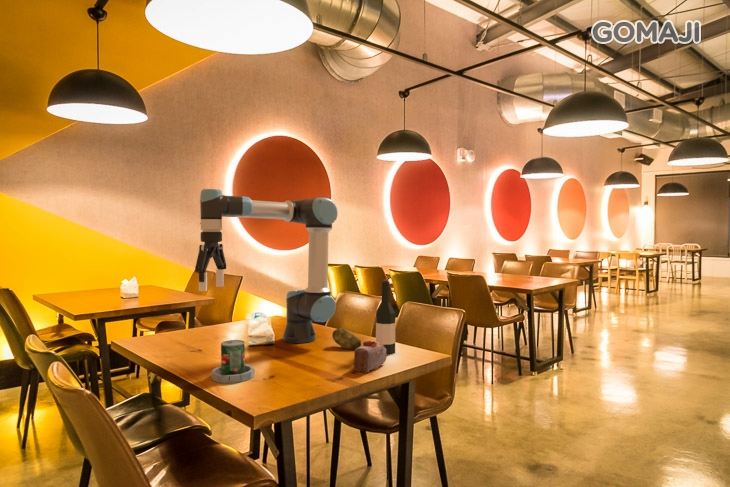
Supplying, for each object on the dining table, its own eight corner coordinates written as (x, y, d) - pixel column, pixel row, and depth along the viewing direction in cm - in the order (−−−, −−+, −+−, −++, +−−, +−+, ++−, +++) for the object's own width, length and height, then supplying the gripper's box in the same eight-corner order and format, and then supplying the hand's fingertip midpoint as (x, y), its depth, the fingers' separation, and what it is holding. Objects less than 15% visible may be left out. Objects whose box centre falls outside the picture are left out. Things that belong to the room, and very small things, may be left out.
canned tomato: (249, 373, 160) (249, 341, 160) (232, 379, 153) (231, 346, 153) (233, 369, 164) (233, 338, 164) (216, 375, 158) (215, 343, 157)
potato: (348, 352, 192) (348, 333, 191) (329, 346, 201) (329, 328, 201) (363, 348, 197) (363, 330, 197) (343, 343, 207) (343, 325, 206)
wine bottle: (397, 350, 194) (398, 279, 193) (392, 355, 186) (392, 281, 186) (378, 349, 197) (378, 278, 196) (372, 353, 189) (372, 280, 188)
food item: (369, 361, 178) (369, 336, 178) (388, 364, 174) (388, 338, 174) (351, 371, 166) (351, 343, 166) (371, 374, 162) (371, 346, 162)
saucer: (251, 368, 168) (251, 362, 168) (256, 380, 155) (256, 373, 155) (210, 373, 163) (210, 366, 163) (213, 385, 150) (212, 378, 150)
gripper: (216, 231, 183) (217, 284, 184) (184, 231, 158) (184, 292, 159) (235, 231, 182) (235, 285, 183) (204, 231, 157) (205, 293, 158)
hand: (211, 288), depth 171 cm, fingers open, 13 cm apart
